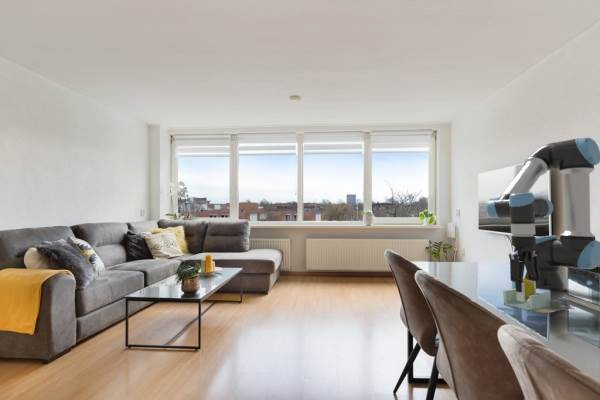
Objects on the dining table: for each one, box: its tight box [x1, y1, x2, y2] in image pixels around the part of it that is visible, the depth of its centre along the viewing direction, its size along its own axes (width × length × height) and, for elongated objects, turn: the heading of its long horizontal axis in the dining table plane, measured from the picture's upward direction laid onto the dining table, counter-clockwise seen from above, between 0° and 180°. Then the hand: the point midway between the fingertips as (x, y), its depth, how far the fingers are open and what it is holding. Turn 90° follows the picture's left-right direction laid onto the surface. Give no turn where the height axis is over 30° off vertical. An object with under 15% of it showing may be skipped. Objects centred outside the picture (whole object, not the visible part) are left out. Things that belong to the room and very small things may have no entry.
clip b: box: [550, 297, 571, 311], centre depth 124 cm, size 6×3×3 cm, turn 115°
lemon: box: [522, 277, 535, 300], centre depth 128 cm, size 6×6×8 cm
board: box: [516, 305, 575, 315], centre depth 127 cm, size 17×14×1 cm
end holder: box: [502, 287, 551, 312], centre depth 128 cm, size 10×10×5 cm
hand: (526, 299), depth 128 cm, fingers closed on lemon, 5 cm apart
